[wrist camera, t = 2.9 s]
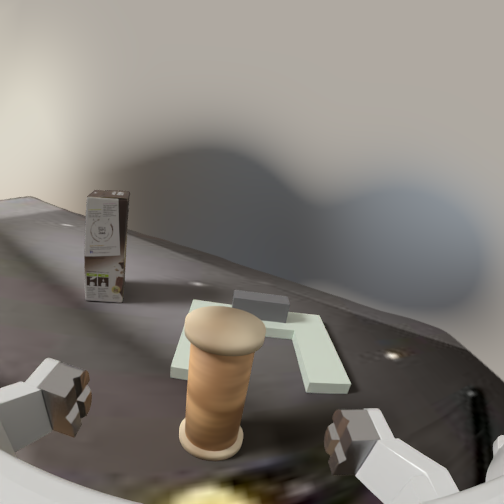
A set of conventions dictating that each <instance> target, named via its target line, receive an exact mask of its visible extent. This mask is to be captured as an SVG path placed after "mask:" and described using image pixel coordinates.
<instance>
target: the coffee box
mask: <svg viewBox="0 0 504 504" xmlns="http://www.w3.org/2000/svg"><path fill="white" fill-rule="evenodd" d="M129 196H130V192H128V191H111V190H107V191H101V190H94V191H93V192H92V193H91V194H89V195H88V196H87V206H86V221H85V300H89V301H105V302H119V303H121V302H123V293H124V282H125V261H126V242H127V224H128V211H129Z"/></svg>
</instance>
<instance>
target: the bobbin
mask: <svg viewBox="0 0 504 504" xmlns="http://www.w3.org/2000/svg"><path fill="white" fill-rule="evenodd" d="M184 332H185V336H186V338H187V339H188V340H189V342H190V343H191V344H190V357H189V370H188V385H187V401H186V418H185V419H184V420H183V421H182V423H181V424H180V428H179V439H180V443H181V445H182V446H183V448H184V449H185V450H186V451H187V452H188V453H190V454H191V455H193V456H195V457H197V458H199V459H203V460H208V461H220V460H225V459H228V458H230V457H232V456H234V455H235V454H236V453H237V452H238V451H239V450H240V448H241V445H242V441H243V431H242V428H241V426H240V423H241V418H242V413H243V408H244V403H245V398H246V393H247V388H248V383H249V378H250V373H251V368H252V363H253V358H254V353H255V351H257V350H259V349H260V348H261V347H262V345H263V343H264V339H265V334H266V327H265V325H264V323H263V322H262V321H261V320H260V319H259V318H258V317H256V316H254V315H253V314H251V313H248V312H246V311H243V310H240V309H236V308H232V307H225V306H207V307H201V308H198V309H195V310H193V311H191V312H190V313H189V314H188V315H187V316H186V319H185V329H184Z"/></svg>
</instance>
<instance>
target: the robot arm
mask: <svg viewBox="0 0 504 504" xmlns="http://www.w3.org/2000/svg"><path fill="white" fill-rule="evenodd" d="M89 381H90V379H89V373H88V371H86V370H84V369H81V368H78V367H75V366H72V365H69V364H66V363H63V362H60V361H57V360H54V359H51V358H46V359H45V360H44V361H43V362H42V363H41V365H40V366H39V367H38V368H37V369H36V370H35V371H34V372H33V374H32V375H31V376H30V377H29V378H28V379H27V381H26V382H25V383H24V382H18V383H15V384H12V385H8V386H5V387H2V388H0V504H142V503H138V502H134V501H130V500H126V499H122V498H119V497H115V496H112V495H108V494H105V493H102V492H99V491H96V490H93V489H90V488H87V487H84V486H81V485H78V484H76V483H73V482H70V481H68V480H65V479H62V478H60V477H57V476H55V475H53V474H50V473H48V472H46V471H43V470H41V469H39V468H37V467H34V466H32V465H30V464H28V463H26V462H24V461H22V460H20V459H18V458H17V456H16V454H15V452H16V451H18V450H20V449H22V448H24V447H25V446H27V445H29V444H31V443H33V442H34V441H36V440H38V439H40V438H41V437H43V436H45V435H47V434H48V433H50V432H52V430H54V431H57V432H60V433H63V434H66V435H68V436H71V437H75V436H76V434H77V432H78V430H79V429H80V427H81V425H82V423H81V418H83V417H85V416H87V414H88V412H89V410H90V406H91V399H92V395H91V390H90V388H89V387H88V386H87V384H88V382H89ZM332 418H333V422H334V423H332V424H331V425H329V426H328V428H327V430H326V432H325V438H324V446H325V450H326V452H327V453H328V454H329V455H330V456H331V457H330V459H329V461H328V462H329V465H330V469H331V473H332V475H355V476H356V477H357V478H358V479H359V480H360V481H361V482H362V483H363V484H364V485H365V486H366V487H367V488H368V489H369V490H370V491H371V492H372V493H373V494H375V495H376V496H377V497H378V498H379V499H380V500H381V501H382V502H383V503H384V504H504V435H500V436H499V437H498V438H497V439H496V440H495V441H494V443H493V455H494V457H493V460H492V462H491V464H490V466H489V468H488V471H487V474H486V482H485V483H483V484H480V485H477V486H475V487H472V488H469V489H466V490H463V491H460V492H459V490H458V488H457V486H456V485H455V483H454V481H453V479H452V477H451V476H450V474H449V472H448V470H447V469H446V468H444V467H443V466H441V465H439V464H438V463H436V462H435V461H433V460H431V459H430V458H428V457H426V456H425V455H423V454H422V453H420V452H419V451H417V450H415V449H414V448H412V447H411V446H409V445H408V444H406V443H405V442H403V441H402V440H400V439H395V438H394V436H393V434H392V432H391V430H390V428H389V426H388V424H387V422H386V421H385V419H384V417H383V415H382V413H381V411H380V410H379V409H378V408H369V409H337V410H336V411H335V412H334V414H333V417H332Z"/></svg>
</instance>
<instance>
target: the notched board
mask: <svg viewBox="0 0 504 504" xmlns="http://www.w3.org/2000/svg"><path fill="white" fill-rule="evenodd" d="M207 306H225V307H232V308H236V309H240V310H243V311H246V312H248V313H251V314H253V315H254V316H256V317H258V318H259V319H260V320H261V321H262V322H263V323H264V325H265V327H266V334H265V337H273V338H282V339H292V340H293V344H294V348H295V352H296V355H297V359H298V363H299V367H300V371H301V374H302V378H303V382H304V386H305V390H306V393H331V394H347V393H348V391H349V388H350V386H351V382H350V380H349V378H348V376H347V374H346V372H345V369H344V367H343V365H342V363H341V361H340V359H339V356H338V354H337V352H336V350H335V348H334V346H333V343H332V341H331V339H330V337H329V335H328V333H327V331H326V329H325V326H324V324H323V322H322V320H321V318H320V316H319V315H311V314H302V313H293V312H288V311H289V307H290V303H289V300H288V297H287V296H280V295H272V294H264V293H256V292H249V291H242V290H234V295H233V302H232V305H229V304H222V303H215V302H208V301H201V300H195V299H193V302H192V305H191V308H190V311H189V313H190V312H191V311H193V310H195V309H198V308H201V307H207ZM184 329H185V325H184V328H183V331H182V334H181V337H180V340H179V343H178V346H177V349H176V352H175V355H174V358H173V361H172V365H171V378H177V379H183V380H188V370H189V357H190V344H191V343H190V342H189V340H188V339H187V338H186V336H185V332H184Z"/></svg>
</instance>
